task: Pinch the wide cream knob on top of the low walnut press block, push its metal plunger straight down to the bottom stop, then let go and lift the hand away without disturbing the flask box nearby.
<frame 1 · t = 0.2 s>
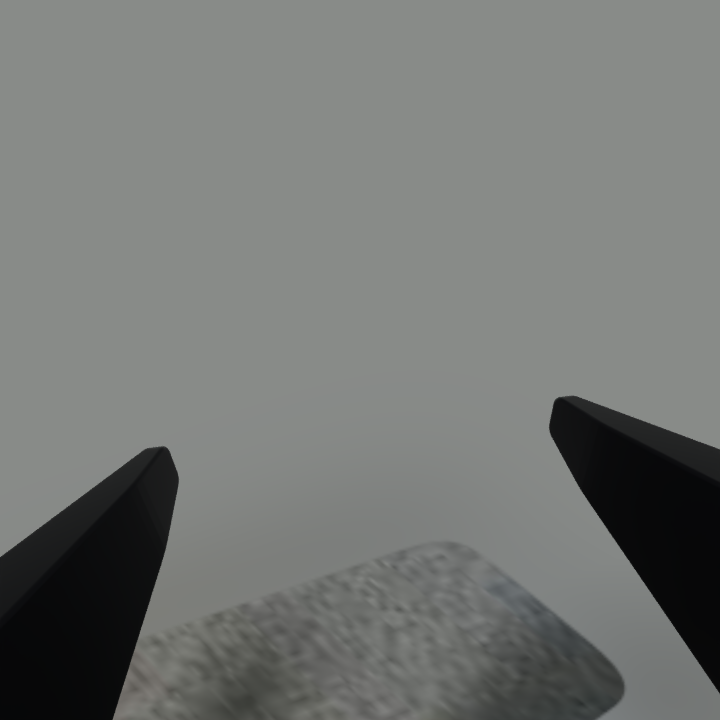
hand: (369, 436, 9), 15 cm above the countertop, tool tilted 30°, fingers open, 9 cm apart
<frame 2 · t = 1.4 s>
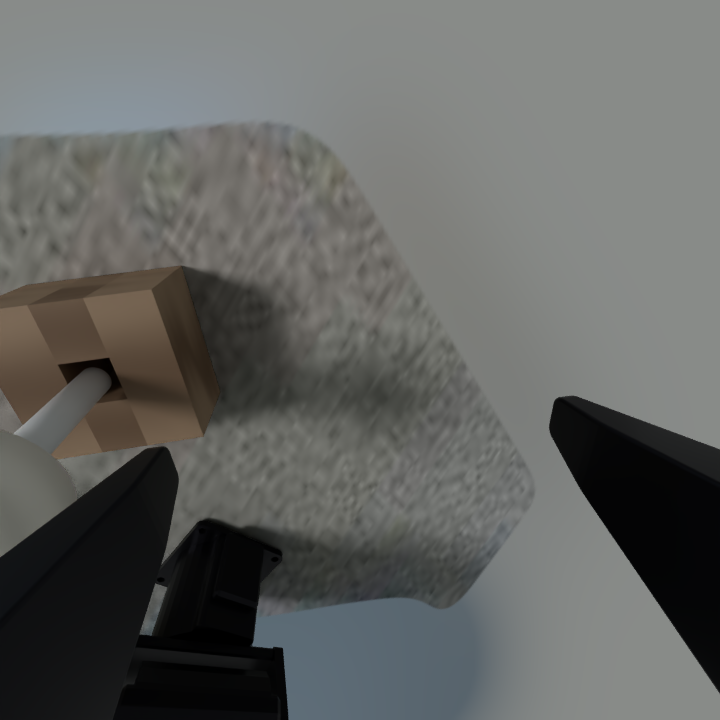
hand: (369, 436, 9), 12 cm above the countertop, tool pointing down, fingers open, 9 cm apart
plunger: (35, 441, 13), point 8 cm above the countertop, slide at 3.5 cm
press block: (132, 343, 20), on the countertop
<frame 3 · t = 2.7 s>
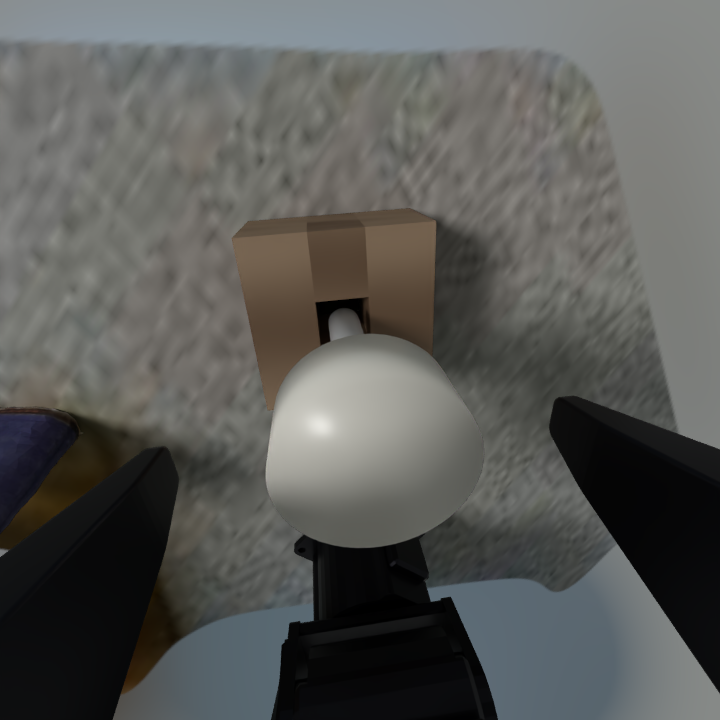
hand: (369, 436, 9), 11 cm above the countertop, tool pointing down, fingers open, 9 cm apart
plunger: (355, 374, 11), point 8 cm above the countertop, slide at 3.5 cm
press block: (337, 292, 18), on the countertop
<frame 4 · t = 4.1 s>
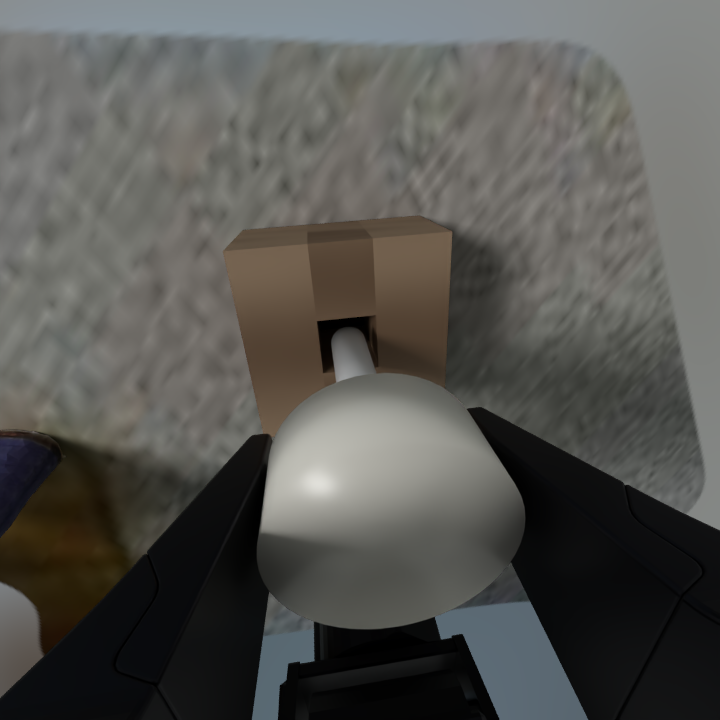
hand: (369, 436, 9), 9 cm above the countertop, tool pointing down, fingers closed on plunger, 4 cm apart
plunger: (363, 408, 10), point 8 cm above the countertop, slide at 3.5 cm, touching gripper
press block: (340, 306, 17), on the countertop
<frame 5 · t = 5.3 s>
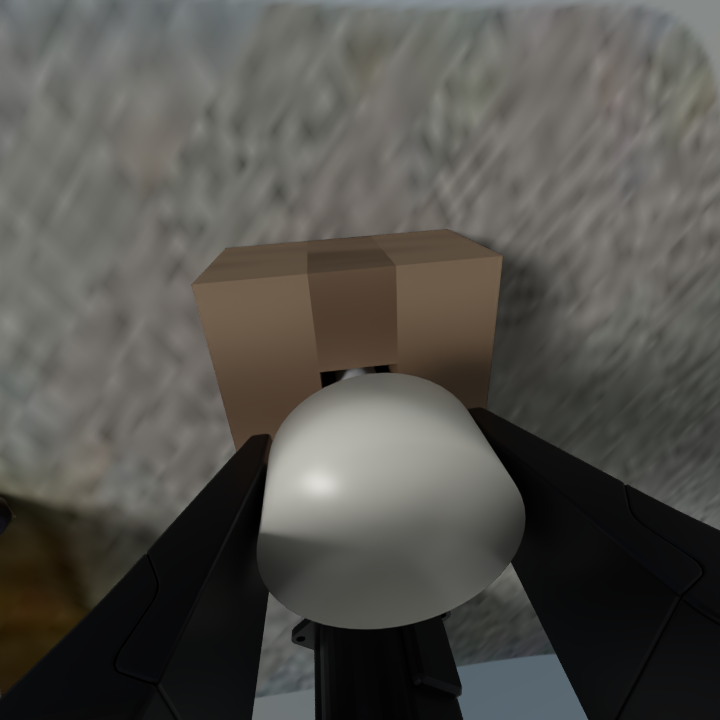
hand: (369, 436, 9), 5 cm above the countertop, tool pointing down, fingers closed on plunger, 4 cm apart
plunger: (363, 408, 10), point 4 cm above the countertop, slide at 0.0 cm, touching gripper
press block: (347, 339, 14), on the countertop
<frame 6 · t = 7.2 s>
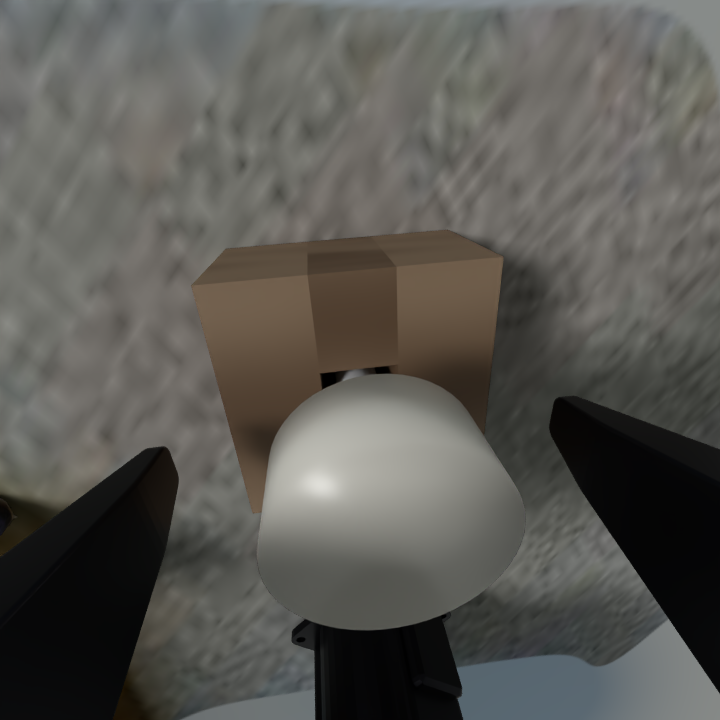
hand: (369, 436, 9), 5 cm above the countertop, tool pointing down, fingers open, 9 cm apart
plunger: (363, 409, 10), point 4 cm above the countertop, slide at -0.1 cm
press block: (347, 340, 14), on the countertop
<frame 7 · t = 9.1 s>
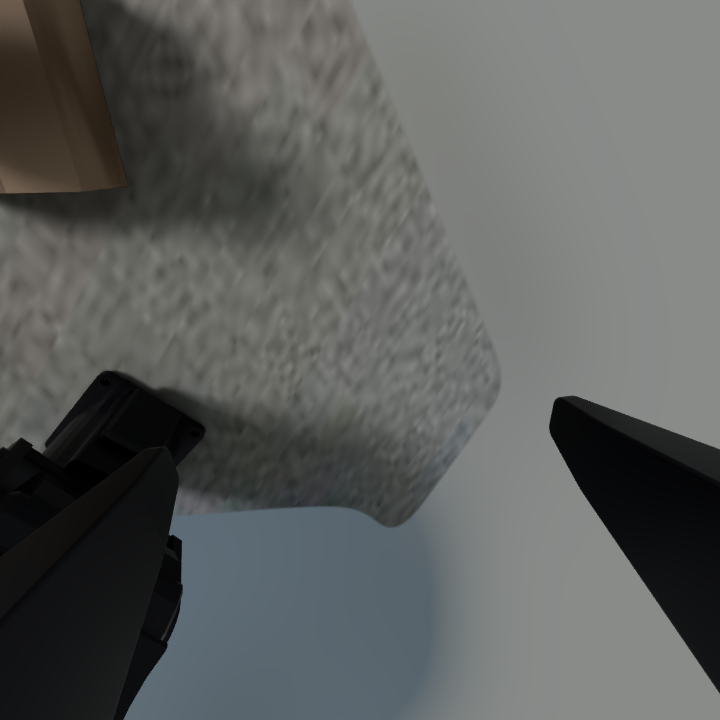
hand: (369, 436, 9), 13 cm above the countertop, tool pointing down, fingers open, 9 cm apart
press block: (10, 92, 15), on the countertop
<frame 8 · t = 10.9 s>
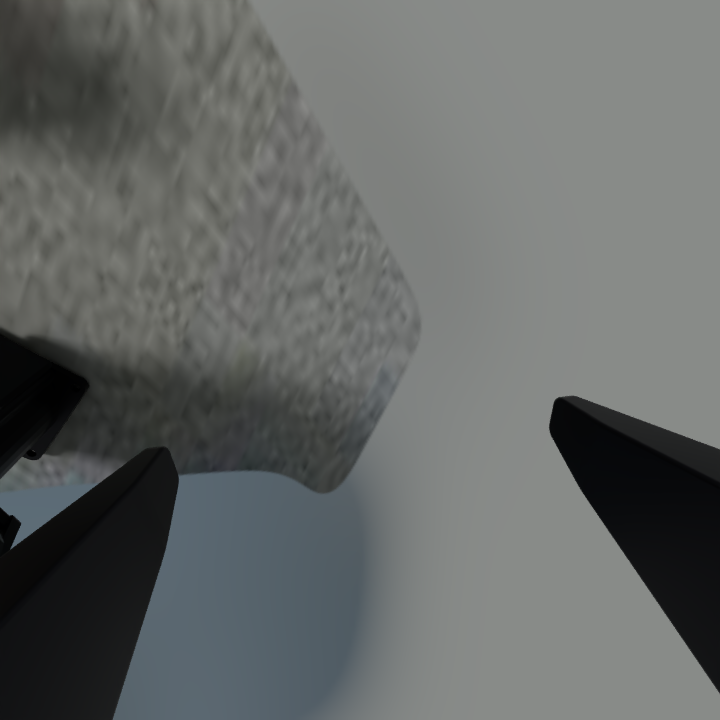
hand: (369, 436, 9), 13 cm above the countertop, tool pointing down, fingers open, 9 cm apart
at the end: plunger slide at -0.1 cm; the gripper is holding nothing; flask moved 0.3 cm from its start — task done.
